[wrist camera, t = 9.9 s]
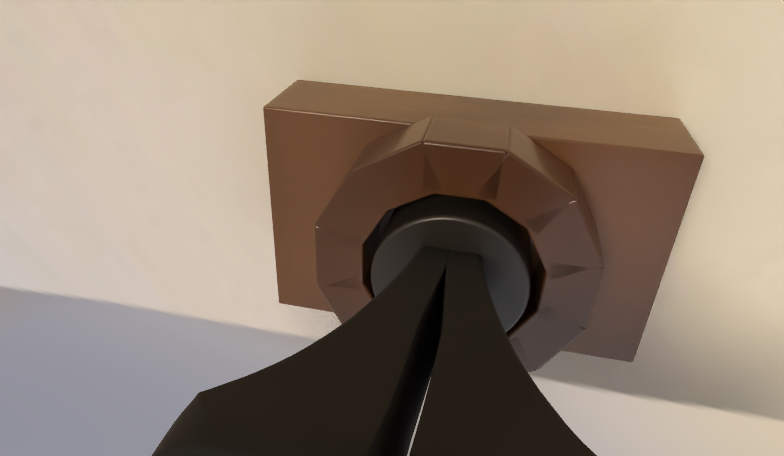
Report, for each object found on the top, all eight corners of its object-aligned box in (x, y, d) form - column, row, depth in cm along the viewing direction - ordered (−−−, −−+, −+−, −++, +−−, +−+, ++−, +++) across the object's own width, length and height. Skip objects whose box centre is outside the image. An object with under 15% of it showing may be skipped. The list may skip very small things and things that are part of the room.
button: (542, 191, 13) (543, 229, 11) (518, 314, 15) (516, 360, 13) (388, 172, 14) (370, 206, 12) (383, 292, 15) (368, 334, 14)
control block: (683, 108, 14) (732, 176, 11) (619, 314, 17) (640, 416, 14) (296, 70, 16) (231, 118, 12) (306, 265, 19) (257, 346, 15)
